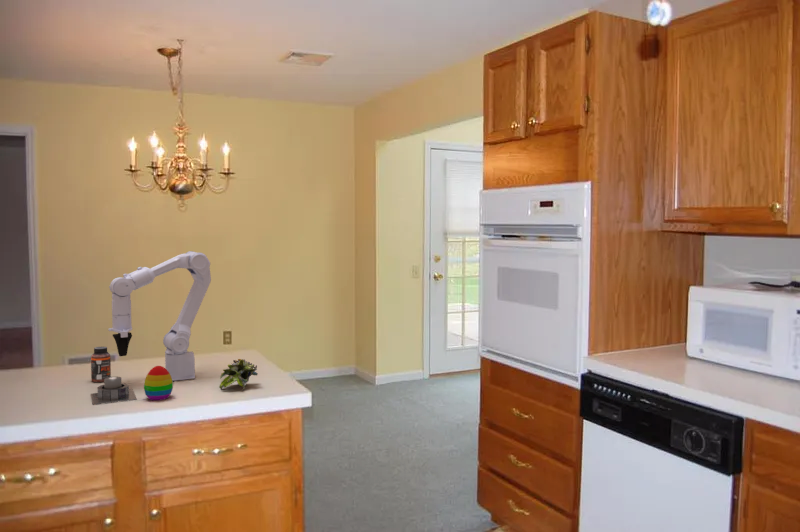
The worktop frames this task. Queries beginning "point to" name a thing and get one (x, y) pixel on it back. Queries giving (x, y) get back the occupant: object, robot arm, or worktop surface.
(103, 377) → the supplement bottle
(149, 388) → the decorative egg
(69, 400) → the worktop surface
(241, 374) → the leafy green plant
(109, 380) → the cap
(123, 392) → the gray square plate
